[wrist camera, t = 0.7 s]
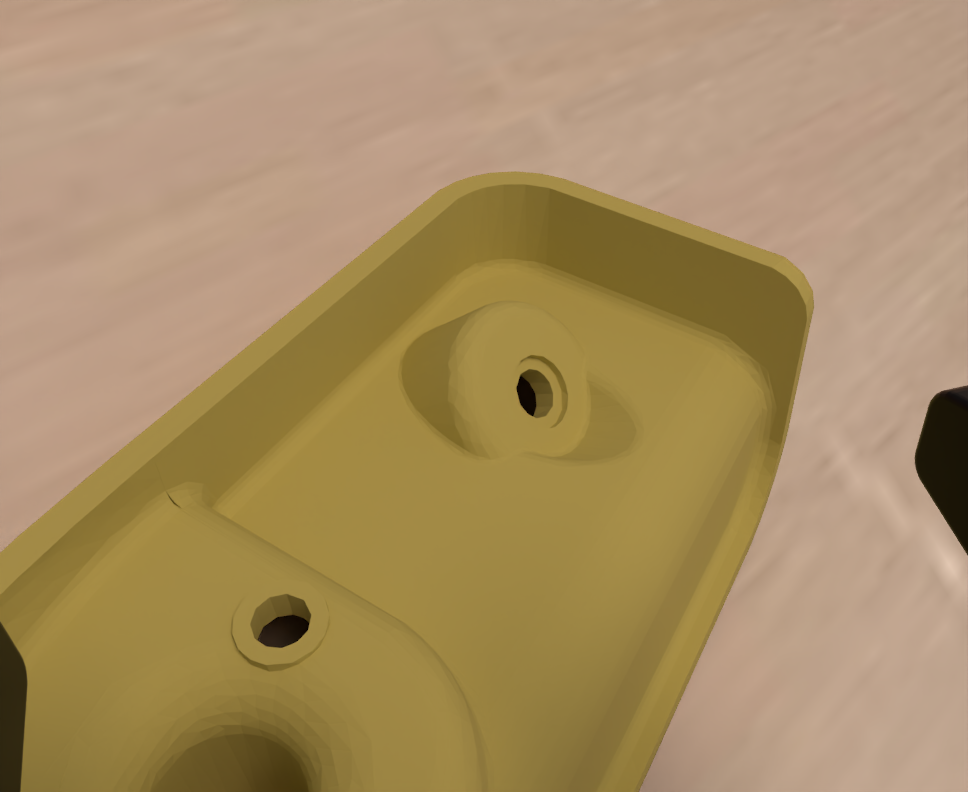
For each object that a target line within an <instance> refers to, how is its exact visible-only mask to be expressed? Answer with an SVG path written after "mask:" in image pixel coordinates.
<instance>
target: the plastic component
mask: <svg viewBox="0 0 968 792" xmlns="http://www.w3.org/2000/svg"><path fill="white" fill-rule="evenodd" d="M813 309H814V300H813V291H812V289H811V287H810V285H809V283H808V281H807V279H806V278H805V276H804V274H803V273H802V272H801V271H800V270H799V269H798V268H797V267H796V266H794V265H793V264H792V263H791V262H790V261H789V260H788V259H786V258H785V257H783V256H780V255H777V254H775V253H772V252H769V251H766V250H763V249H760V248H758V247H755V246H752V245H749V244H746V243H743V242H741V241H738V240H735V239H732V238H729V237H727V236H724V235H721V234H718V233H715V232H712V231H710V230H707V229H704V228H701V227H698V226H695V225H693V224H690V223H687V222H684V221H681V220H678V219H676V218H673V217H670V216H667V215H664V214H661V213H659V212H656V211H653V210H650V209H647V208H645V207H642V206H639V205H636V204H633V203H630V202H628V201H625V200H622V199H619V198H616V197H613V196H611V195H608V194H605V193H602V192H599V191H596V190H594V189H591V188H588V187H585V186H582V185H580V184H577V183H574V182H571V181H568V180H565V179H562V178H558V177H553V176H549V175H544V174H538V173H526V172H498V173H488V174H483V175H478V176H472V177H469V178H466V179H463V180H460V181H457V182H454V183H452V184H450V185H449V186H447V187H445V188H443V189H441V190H439V191H438V192H436V193H435V194H434V195H433V196H431V197H430V198H429V199H428V200H427V201H425V202H424V203H423V204H422V205H420V206H419V207H418V208H417V209H416V210H414V211H413V212H412V213H411V214H409V215H408V216H407V217H406V218H404V219H403V220H402V221H401V222H400V223H398V224H397V225H396V226H395V227H393V228H392V229H391V230H390V231H389V232H387V233H386V234H385V235H384V236H382V237H381V238H380V239H379V240H378V241H376V242H375V243H374V244H373V245H371V246H370V247H369V248H368V249H366V250H365V251H364V252H363V253H362V254H360V255H359V256H358V257H357V258H355V259H354V260H353V261H352V262H351V263H349V264H348V265H347V266H346V267H344V268H343V269H342V270H341V271H340V272H338V273H337V274H336V275H335V276H333V277H332V278H331V279H330V280H328V281H327V282H326V283H325V284H324V285H322V286H321V287H320V288H319V289H317V290H316V291H315V292H314V293H313V294H311V295H310V296H309V297H308V298H306V299H305V300H304V301H303V302H302V303H300V304H299V305H298V306H297V307H295V308H294V309H293V310H292V311H290V312H289V313H288V314H287V315H286V316H284V317H283V318H282V319H281V320H279V321H278V322H277V323H276V324H275V325H273V326H272V327H271V328H270V329H268V330H267V331H266V332H265V333H264V334H262V335H261V336H260V337H259V338H257V339H256V340H255V341H254V342H253V343H251V344H250V345H249V346H248V347H246V348H245V349H244V350H243V351H241V352H240V353H239V354H238V355H237V356H235V357H234V358H233V359H232V360H230V361H229V362H228V363H227V364H226V365H224V366H223V367H222V368H221V369H219V370H218V371H217V372H216V373H215V374H213V375H212V376H211V377H210V378H208V379H207V380H206V381H205V382H203V383H202V384H201V385H200V386H199V387H197V388H196V389H195V390H194V391H192V392H191V393H190V394H189V395H188V396H186V397H185V398H184V399H183V400H181V401H180V402H179V403H178V404H177V405H175V406H174V407H173V408H172V409H170V410H169V411H168V412H167V413H165V414H164V415H163V416H162V417H161V418H159V419H158V420H157V421H156V422H154V423H153V424H152V425H151V426H150V427H148V428H147V429H146V430H145V431H143V432H142V433H141V434H140V435H139V436H137V437H136V438H135V439H134V440H132V441H131V442H130V443H129V444H127V445H126V446H125V447H124V448H123V449H121V450H120V451H119V452H118V453H116V454H115V455H114V456H113V457H112V458H110V459H109V460H108V461H107V462H105V463H104V464H103V465H102V466H101V467H99V468H98V469H97V470H96V471H95V472H94V473H92V474H91V475H90V476H89V477H88V478H86V479H85V480H84V481H83V482H82V483H81V484H79V485H78V486H77V487H76V488H75V489H73V490H72V491H71V492H70V493H69V494H68V495H66V496H65V497H64V498H63V499H62V500H60V501H59V502H58V503H57V504H56V505H55V506H53V507H52V508H51V509H50V510H49V511H48V512H46V513H45V514H44V515H43V516H42V517H40V518H39V519H38V520H37V521H36V522H35V523H33V524H32V525H31V526H30V527H29V528H27V529H26V530H25V531H24V532H23V533H22V534H20V535H19V536H18V537H17V538H16V539H15V540H14V541H13V542H12V543H11V544H9V545H8V546H7V547H6V548H5V549H4V550H3V551H2V552H1V553H0V621H1V623H2V625H3V626H4V628H5V630H6V631H7V633H8V634H9V636H10V638H11V639H12V641H13V643H14V644H15V646H16V647H17V649H18V651H19V652H20V654H21V656H22V658H23V660H24V663H25V666H26V671H27V680H28V685H27V701H26V716H25V731H24V746H23V761H22V776H21V791H20V792H639V790H640V788H641V785H642V783H643V781H644V779H645V777H646V774H647V772H648V770H649V768H650V766H651V763H652V761H653V759H654V757H655V755H656V752H657V750H658V748H659V746H660V744H661V741H662V739H663V737H664V735H665V733H666V730H667V728H668V726H669V724H670V722H671V719H672V717H673V715H674V713H675V711H676V708H677V706H678V704H679V702H680V699H681V697H682V695H683V693H684V691H685V688H686V686H687V684H688V682H689V680H690V677H691V675H692V673H693V671H694V669H695V666H696V664H697V662H698V660H699V658H700V655H701V653H702V651H703V649H704V647H705V644H706V642H707V640H708V638H709V636H710V633H711V631H712V629H713V627H714V625H715V622H716V620H717V618H718V616H719V614H720V611H721V609H722V607H723V605H724V603H725V600H726V598H727V596H728V594H729V592H730V589H731V587H732V585H733V583H734V581H735V578H736V576H737V574H738V572H739V570H740V567H741V565H742V563H743V561H744V559H745V556H746V554H747V552H748V550H749V548H750V545H751V543H752V540H753V538H754V535H755V533H756V530H757V527H758V525H759V522H760V520H761V517H762V514H763V511H764V508H765V506H766V503H767V500H768V497H769V494H770V491H771V488H772V485H773V482H774V479H775V476H776V472H777V469H778V465H779V462H780V459H781V455H782V452H783V448H784V444H785V440H786V436H787V432H788V428H789V423H790V418H791V413H792V409H793V404H794V399H795V394H796V390H797V385H798V380H799V375H800V371H801V366H802V361H803V356H804V352H805V347H806V342H807V337H808V333H809V328H810V323H811V318H812V314H813ZM520 376H522V377H523V378H524V379H525V380H527V381H528V382H529V383H530V385H531V386H532V388H533V390H534V392H535V394H536V406H537V407H536V410H535V413H534V416H531V415H528V413H527V412H526V411H525V410H524V409H523V407H522V406H521V405H520V402H519V398H518V394H517V389H516V387H517V384H518V381H519V377H520ZM287 615H296V616H299V617H301V618H304V619H306V620H307V621H308V622H309V623H310V624H309V628H308V631H307V632H306V633H305V634H304V635H303V636H302V637H301V638H300V639H299V640H298V641H297V642H295V643H293V644H291V645H288V646H286V647H283V648H276V647H266V646H265V645H263V644H262V643H260V642H259V641H257V640H258V638H259V635H260V633H261V631H262V629H263V627H264V626H266V625H267V624H268V623H270V622H271V621H272V620H274V619H275V618H276V617H281V616H287Z"/></svg>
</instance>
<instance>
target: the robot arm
mask: <svg viewBox="0 0 968 792" xmlns="http://www.w3.org/2000/svg"><path fill="white" fill-rule="evenodd" d="M915 466H916V471H917V473H918V476H919V478H920V480H921V482H922V483H923V485H924V487H925V488H926V490H927V491H928V493H929V495H930V496H931V498H932V499H933V501H934V502H935V504H936V506H937V507H938V509H939V510H940V512H941V514H942V515H943V517H944V518H945V520H946V522H947V523H948V525H949V526H950V528H951V529H952V531H953V533H954V534H955V536H956V537H957V539H958V541H959V542H960V544H961V545H962V547H963V549H964V550H965V552H966V553H967V555H968V385H967V386H963V387H958V388H953V389H949V390H944V391H941V392H939V393H937V394H936V395H935V396H934V397H933V399H932V400H931V402H930V404H929V407H928V410H927V414H926V417H925V421H924V424H923V428H922V431H921V435H920V438H919V442H918V445H917V449H916V453H915ZM27 685H28V680H27V671H26V666H25V663H24V660H23V658H22V656H21V654H20V652H19V651H18V649H17V647H16V646H15V644H14V643H13V641H12V639H11V638H10V636H9V634H8V633H7V631H6V630H5V628H4V626H3V625H2V623H1V621H0V792H20V791H21V776H22V761H23V746H24V731H25V716H26V701H27Z"/></svg>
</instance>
